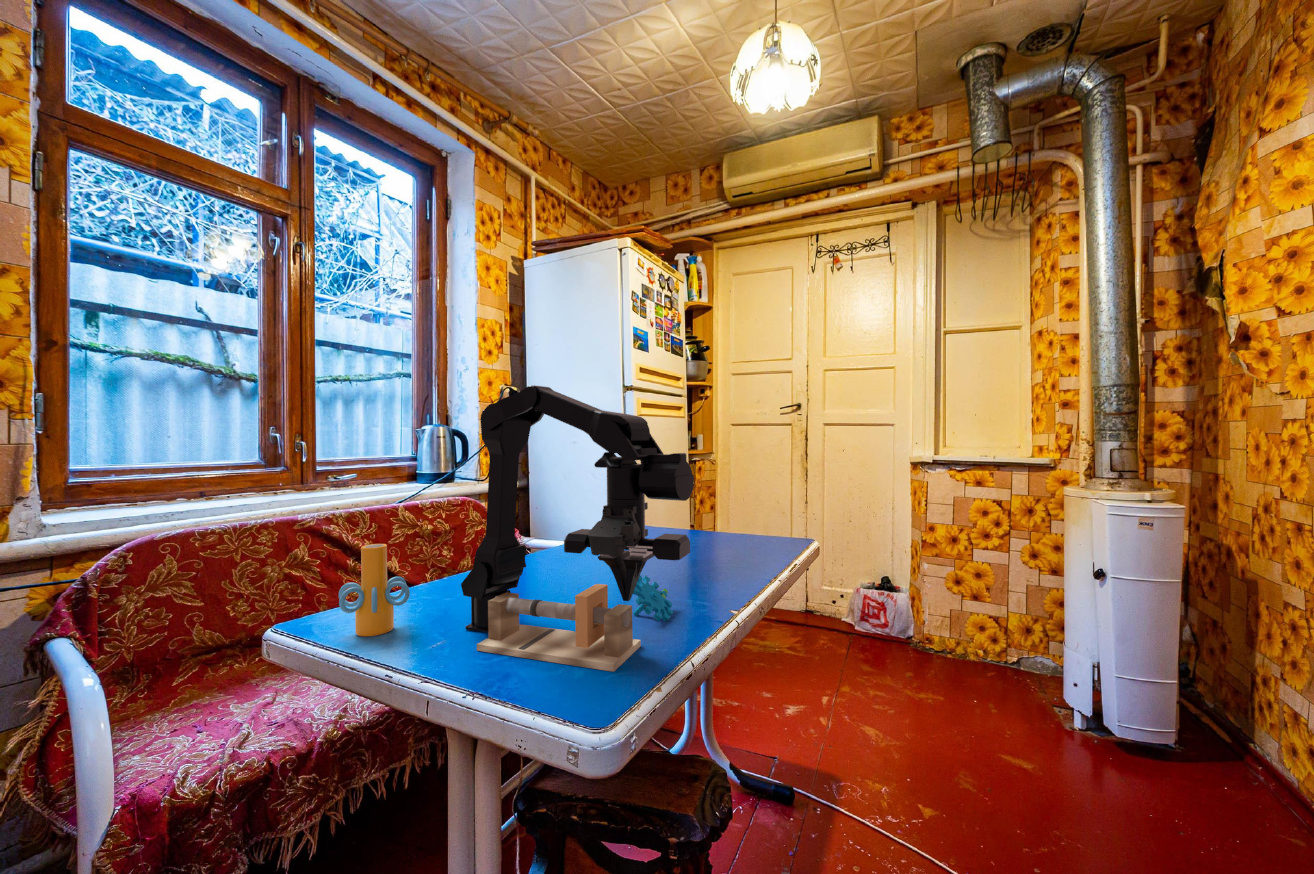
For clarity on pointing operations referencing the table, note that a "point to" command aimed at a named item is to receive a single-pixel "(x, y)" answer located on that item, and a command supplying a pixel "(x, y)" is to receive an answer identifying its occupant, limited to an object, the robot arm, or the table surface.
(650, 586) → the gear
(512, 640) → the pipe rig
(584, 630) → the collar
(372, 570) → the cylinder
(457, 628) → the table surface
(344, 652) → the table surface
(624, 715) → the table surface
